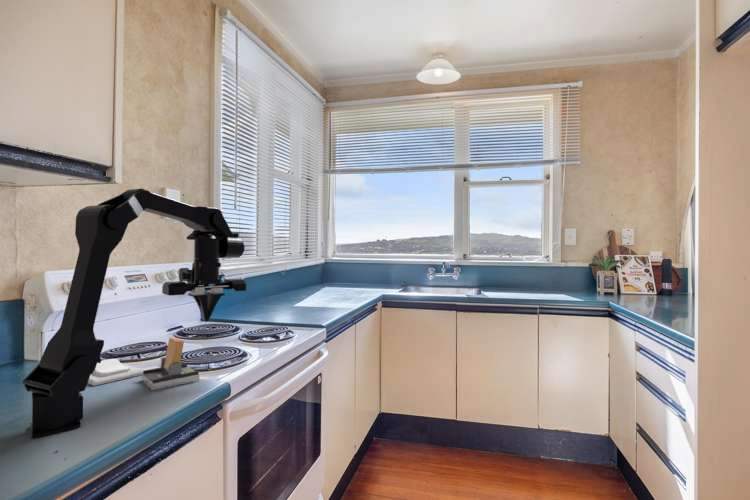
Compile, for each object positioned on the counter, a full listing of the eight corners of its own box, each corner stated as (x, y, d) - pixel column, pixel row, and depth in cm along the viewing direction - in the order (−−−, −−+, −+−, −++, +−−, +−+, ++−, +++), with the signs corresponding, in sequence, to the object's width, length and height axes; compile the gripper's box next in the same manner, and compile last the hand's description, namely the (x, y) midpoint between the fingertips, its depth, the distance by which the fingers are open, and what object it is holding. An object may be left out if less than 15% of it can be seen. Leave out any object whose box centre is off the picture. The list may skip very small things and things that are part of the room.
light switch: (122, 354, 105) (145, 359, 97) (123, 369, 105) (145, 376, 97) (73, 363, 96) (93, 370, 89) (73, 380, 96) (94, 389, 89)
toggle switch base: (151, 390, 86) (152, 369, 86) (141, 380, 93) (142, 360, 93) (199, 380, 93) (199, 360, 93) (186, 371, 100) (186, 352, 100)
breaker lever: (169, 375, 91) (176, 341, 91) (162, 369, 94) (169, 337, 95) (177, 374, 92) (184, 341, 93) (170, 369, 96) (177, 337, 96)
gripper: (230, 257, 111) (229, 313, 111) (156, 258, 98) (155, 320, 98) (247, 258, 103) (247, 318, 103) (169, 259, 90) (168, 328, 90)
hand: (206, 321), depth 99 cm, fingers closed
